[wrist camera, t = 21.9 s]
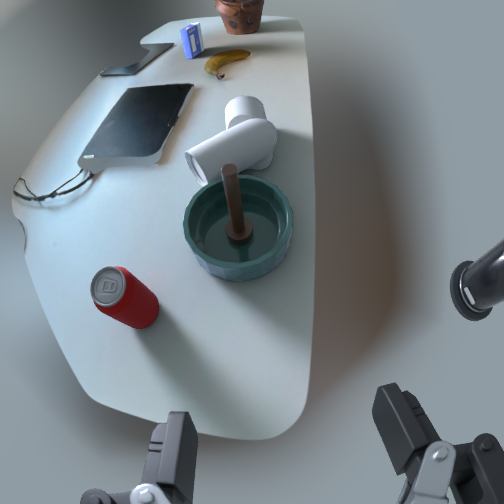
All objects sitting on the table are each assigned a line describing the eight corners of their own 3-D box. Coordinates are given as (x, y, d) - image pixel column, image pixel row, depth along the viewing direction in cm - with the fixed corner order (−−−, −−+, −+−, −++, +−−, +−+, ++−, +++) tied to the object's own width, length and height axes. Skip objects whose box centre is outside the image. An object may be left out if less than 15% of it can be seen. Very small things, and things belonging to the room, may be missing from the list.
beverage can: (127, 288, 46) (92, 260, 35) (163, 291, 45) (134, 262, 34) (121, 327, 43) (81, 308, 32) (158, 332, 42) (124, 314, 32)
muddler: (254, 222, 49) (248, 156, 35) (252, 245, 47) (245, 183, 33) (228, 221, 49) (213, 156, 35) (225, 244, 47) (208, 183, 33)
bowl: (289, 197, 52) (291, 175, 47) (289, 284, 45) (292, 270, 39) (199, 195, 53) (193, 174, 48) (185, 279, 46) (174, 265, 41)
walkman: (192, 58, 79) (186, 29, 68) (185, 58, 79) (179, 29, 69) (204, 49, 82) (200, 21, 71) (198, 49, 82) (193, 21, 72)
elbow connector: (291, 185, 51) (273, 118, 60) (279, 146, 42) (262, 81, 51) (200, 209, 55) (199, 139, 63) (174, 176, 46) (180, 107, 54)
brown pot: (208, 35, 88) (203, -2, 72) (236, 21, 95) (233, -13, 79) (247, 40, 84) (244, -1, 67) (273, 26, 90) (272, -10, 74)
